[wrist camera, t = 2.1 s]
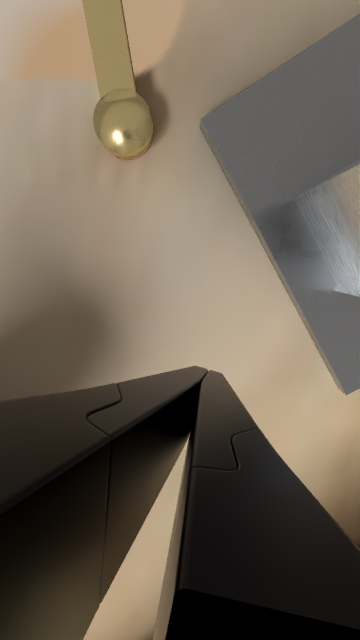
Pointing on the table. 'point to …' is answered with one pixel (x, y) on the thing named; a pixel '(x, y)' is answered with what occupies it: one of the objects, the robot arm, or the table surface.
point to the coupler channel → (299, 178)
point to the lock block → (337, 224)
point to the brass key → (116, 83)
